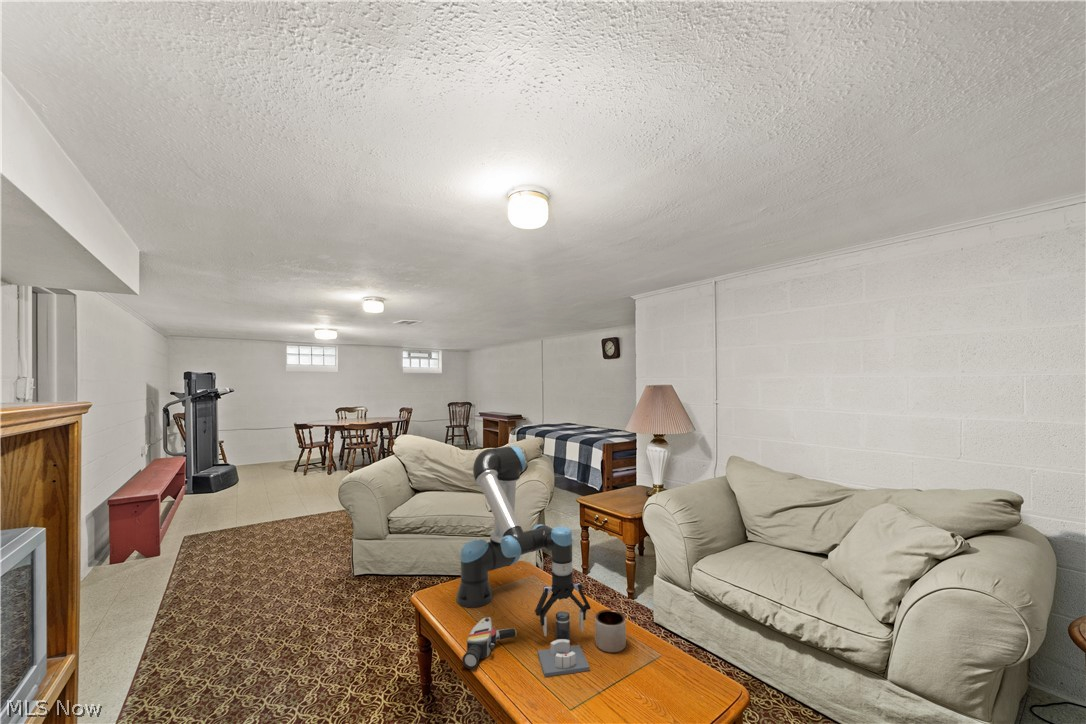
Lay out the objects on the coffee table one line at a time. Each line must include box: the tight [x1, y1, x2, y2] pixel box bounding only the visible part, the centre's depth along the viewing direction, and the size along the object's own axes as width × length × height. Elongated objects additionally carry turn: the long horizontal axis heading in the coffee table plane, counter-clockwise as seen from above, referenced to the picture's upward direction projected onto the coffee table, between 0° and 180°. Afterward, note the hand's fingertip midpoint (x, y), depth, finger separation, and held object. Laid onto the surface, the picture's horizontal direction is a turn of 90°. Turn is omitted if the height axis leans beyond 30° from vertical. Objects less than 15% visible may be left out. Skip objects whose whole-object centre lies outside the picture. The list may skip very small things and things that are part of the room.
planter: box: [594, 609, 627, 654], centre depth 159 cm, size 11×11×10 cm
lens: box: [555, 610, 571, 641], centre depth 162 cm, size 5×5×9 cm
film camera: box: [461, 617, 517, 670], centre depth 155 cm, size 7×19×15 cm
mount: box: [537, 639, 591, 678], centre depth 150 cm, size 12×15×5 cm
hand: (563, 631), depth 162 cm, fingers open, 13 cm apart
